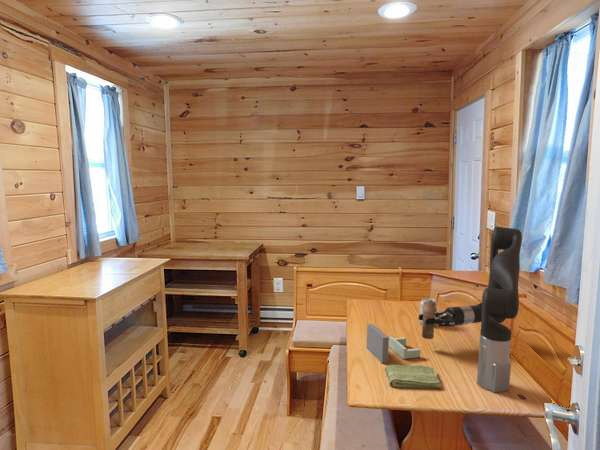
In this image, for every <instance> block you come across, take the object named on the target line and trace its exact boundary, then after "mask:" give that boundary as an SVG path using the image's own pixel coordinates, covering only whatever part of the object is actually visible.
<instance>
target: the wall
mask: <svg viewBox="0 0 600 450" xmlns="http://www.w3.org/2000/svg"><path fill="white" fill-rule="evenodd" d="M366 327H367V328H366V349H367V350H368V351H369V352H370V353H371V355H373V356H374V357H375V358H376V359H377V360H378V362H380V363H381V364H388V363H389V348H390V347H389V337H390V336H388V335H387V334H386V333H384V331H382V330H381V329H380V328H378V327H377V326H376V325H375V324H374V323H368V324H367V325H366Z"/></svg>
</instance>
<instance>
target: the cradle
mask: <svg viewBox="0 0 600 450" xmlns="http://www.w3.org/2000/svg"><path fill="white" fill-rule="evenodd" d="M388 337H389V348H390V349H392V350H393V352H395V353H396V354H397V355H398V356H399V357H401V358H402V359H403V360H406V359H414V358H415V359H416V358H421V351H422V350H421V349H420V348H409V349H407V347H405V346H407V338H406V337H398V338H397V337H396V338H395V337H393V336H392V335H391V336H388Z"/></svg>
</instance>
